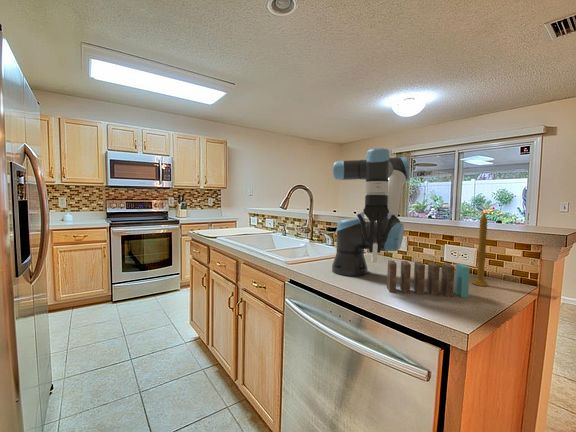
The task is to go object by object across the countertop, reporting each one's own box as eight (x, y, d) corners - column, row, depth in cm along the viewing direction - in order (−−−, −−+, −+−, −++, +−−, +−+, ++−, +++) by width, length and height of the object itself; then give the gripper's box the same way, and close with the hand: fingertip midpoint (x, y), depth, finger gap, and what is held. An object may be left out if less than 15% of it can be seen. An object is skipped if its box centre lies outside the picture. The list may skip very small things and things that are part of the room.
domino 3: (417, 294, 95) (418, 265, 95) (413, 289, 101) (414, 261, 100) (423, 294, 95) (425, 265, 94) (419, 289, 100) (420, 261, 99)
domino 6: (461, 297, 93) (462, 267, 92) (454, 291, 98) (456, 263, 98) (467, 297, 93) (469, 267, 92) (461, 292, 98) (462, 263, 97)
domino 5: (446, 296, 94) (447, 266, 93) (440, 291, 99) (442, 262, 98) (452, 296, 93) (454, 266, 93) (446, 291, 99) (448, 263, 98)
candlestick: (475, 281, 111) (490, 285, 106) (469, 283, 108) (484, 287, 104) (479, 211, 109) (494, 212, 105) (473, 212, 106) (489, 212, 102)
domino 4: (431, 295, 95) (433, 265, 94) (426, 290, 100) (428, 262, 99) (438, 295, 94) (439, 266, 94) (433, 290, 99) (434, 262, 99)
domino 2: (403, 293, 96) (404, 264, 96) (400, 288, 101) (401, 260, 101) (409, 293, 96) (410, 264, 95) (405, 288, 101) (407, 261, 100)
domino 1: (389, 292, 97) (390, 263, 96) (386, 287, 102) (387, 260, 101) (395, 292, 97) (396, 263, 96) (392, 287, 102) (393, 260, 101)
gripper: (358, 193, 95) (355, 262, 97) (398, 194, 93) (395, 265, 95) (356, 194, 103) (354, 258, 104) (394, 194, 101) (391, 260, 102)
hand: (374, 261), depth 99 cm, fingers closed
